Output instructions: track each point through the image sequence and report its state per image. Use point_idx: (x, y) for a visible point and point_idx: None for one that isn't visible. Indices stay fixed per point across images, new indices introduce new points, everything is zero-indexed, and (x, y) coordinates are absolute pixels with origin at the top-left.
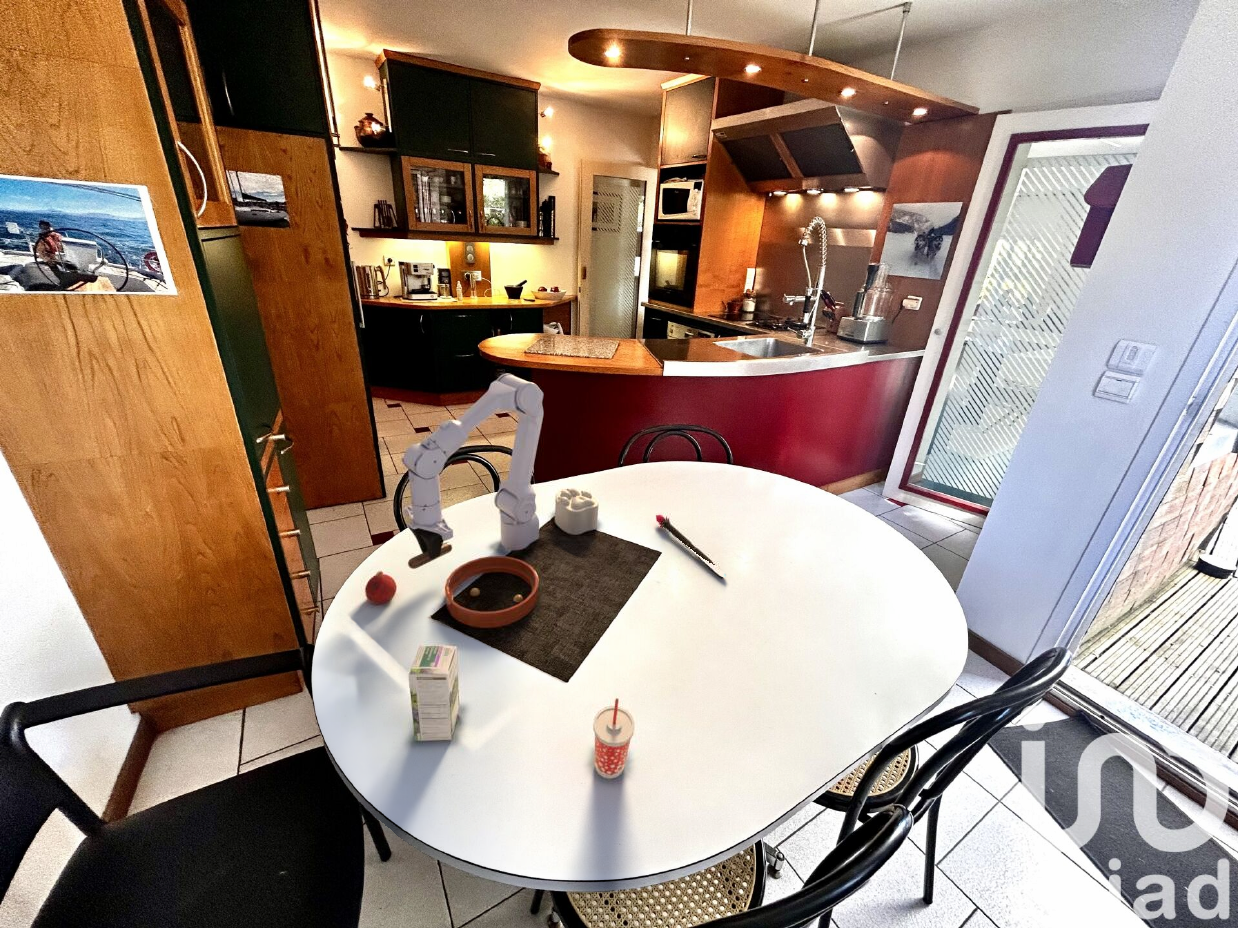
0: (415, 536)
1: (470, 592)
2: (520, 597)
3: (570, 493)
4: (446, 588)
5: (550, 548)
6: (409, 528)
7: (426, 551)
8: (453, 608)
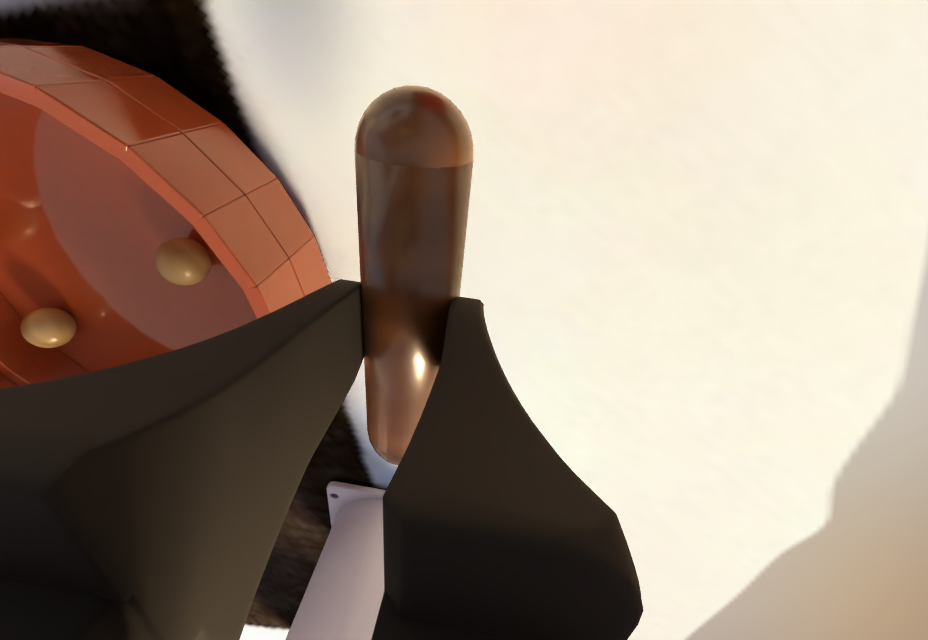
0: (506, 408)
1: (179, 248)
2: (23, 336)
3: None
4: (104, 140)
5: (303, 550)
6: (574, 522)
7: (420, 319)
8: None
